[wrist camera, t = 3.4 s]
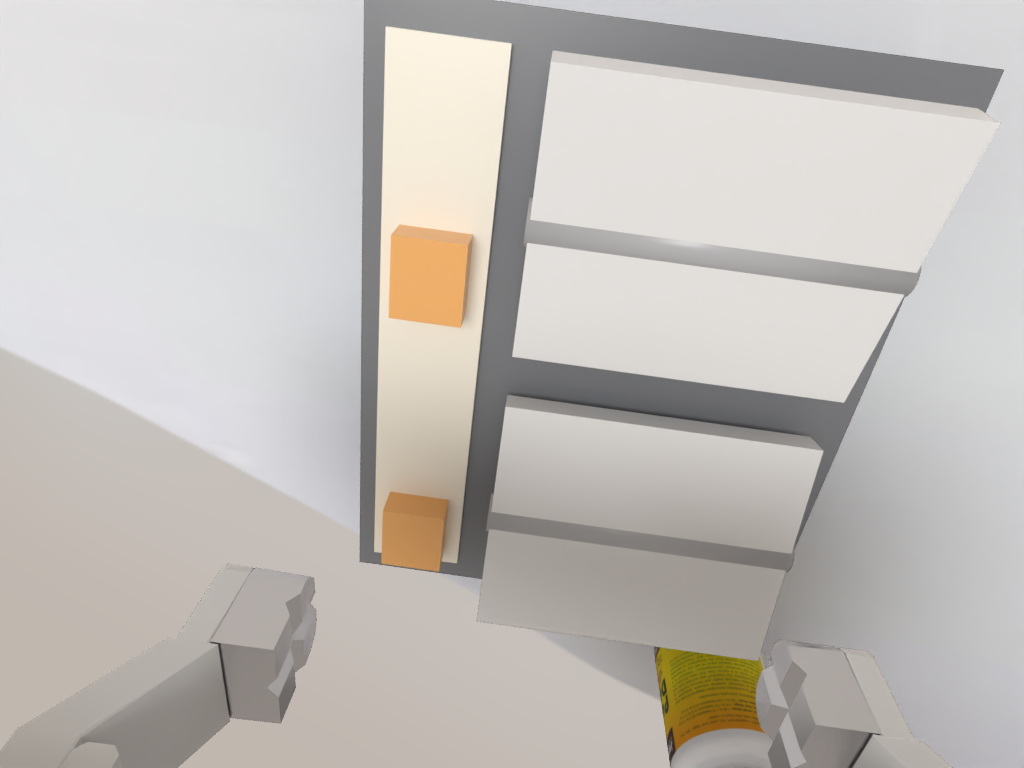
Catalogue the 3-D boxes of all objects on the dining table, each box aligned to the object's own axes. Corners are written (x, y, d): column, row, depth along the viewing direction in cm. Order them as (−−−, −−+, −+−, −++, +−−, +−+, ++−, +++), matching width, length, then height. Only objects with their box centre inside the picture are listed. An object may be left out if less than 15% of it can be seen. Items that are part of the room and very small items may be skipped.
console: (919, 60, 23) (1038, 73, 17) (737, 540, 33) (773, 646, 28) (402, -10, 23) (349, -21, 17) (386, 491, 33) (349, 587, 28)
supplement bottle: (636, 614, 36) (660, 807, 27) (735, 586, 35) (794, 781, 26) (671, 676, 39) (703, 874, 30) (766, 653, 37) (829, 853, 28)
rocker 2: (812, 436, 24) (827, 452, 22) (750, 638, 27) (761, 663, 25) (505, 393, 24) (502, 407, 22) (477, 599, 27) (473, 622, 25)
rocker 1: (980, 107, 17) (1007, 124, 16) (835, 378, 23) (847, 405, 22) (549, 49, 17) (546, 62, 16) (512, 334, 23) (508, 358, 22)
